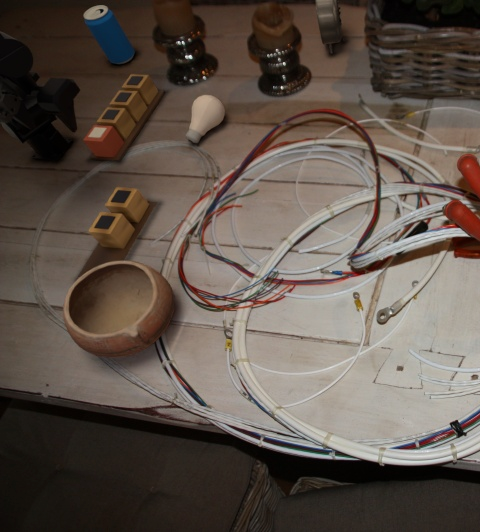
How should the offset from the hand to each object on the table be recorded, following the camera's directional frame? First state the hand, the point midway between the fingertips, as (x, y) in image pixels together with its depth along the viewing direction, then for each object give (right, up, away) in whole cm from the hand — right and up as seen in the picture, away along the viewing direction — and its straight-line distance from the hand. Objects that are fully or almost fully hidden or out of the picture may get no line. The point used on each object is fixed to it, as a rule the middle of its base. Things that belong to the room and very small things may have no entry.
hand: (54, 129), depth 101 cm
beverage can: (-4, +26, +33) cm, 42 cm away
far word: (+5, +6, +18) cm, 19 cm away
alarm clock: (+49, +27, +26) cm, 62 cm away
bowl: (+21, -35, -12) cm, 43 cm away
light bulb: (+24, +3, +14) cm, 28 cm away
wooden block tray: (+13, -21, -1) cm, 24 cm away
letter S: (+4, -1, +13) cm, 13 cm away
